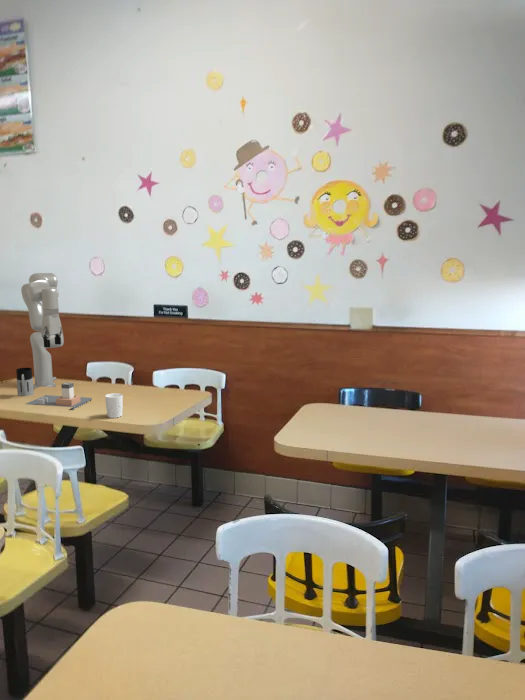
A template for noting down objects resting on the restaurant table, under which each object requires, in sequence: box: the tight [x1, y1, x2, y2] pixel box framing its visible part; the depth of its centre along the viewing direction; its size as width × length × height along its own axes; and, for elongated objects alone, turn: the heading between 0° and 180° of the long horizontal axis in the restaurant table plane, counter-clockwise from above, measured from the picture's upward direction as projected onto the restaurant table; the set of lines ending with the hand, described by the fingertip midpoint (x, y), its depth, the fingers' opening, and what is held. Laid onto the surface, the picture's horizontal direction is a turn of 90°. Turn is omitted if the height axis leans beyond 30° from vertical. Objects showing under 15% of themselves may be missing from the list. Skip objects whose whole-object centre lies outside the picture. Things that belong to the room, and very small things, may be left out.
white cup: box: [104, 392, 124, 419], centre depth 254 cm, size 8×8×10 cm
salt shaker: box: [60, 381, 75, 399], centre depth 270 cm, size 4×4×10 cm
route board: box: [25, 394, 92, 411], centre depth 274 cm, size 18×26×4 cm
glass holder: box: [15, 367, 35, 397], centre depth 284 cm, size 9×14×15 cm, turn 18°
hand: (52, 345), depth 278 cm, fingers open, 9 cm apart
